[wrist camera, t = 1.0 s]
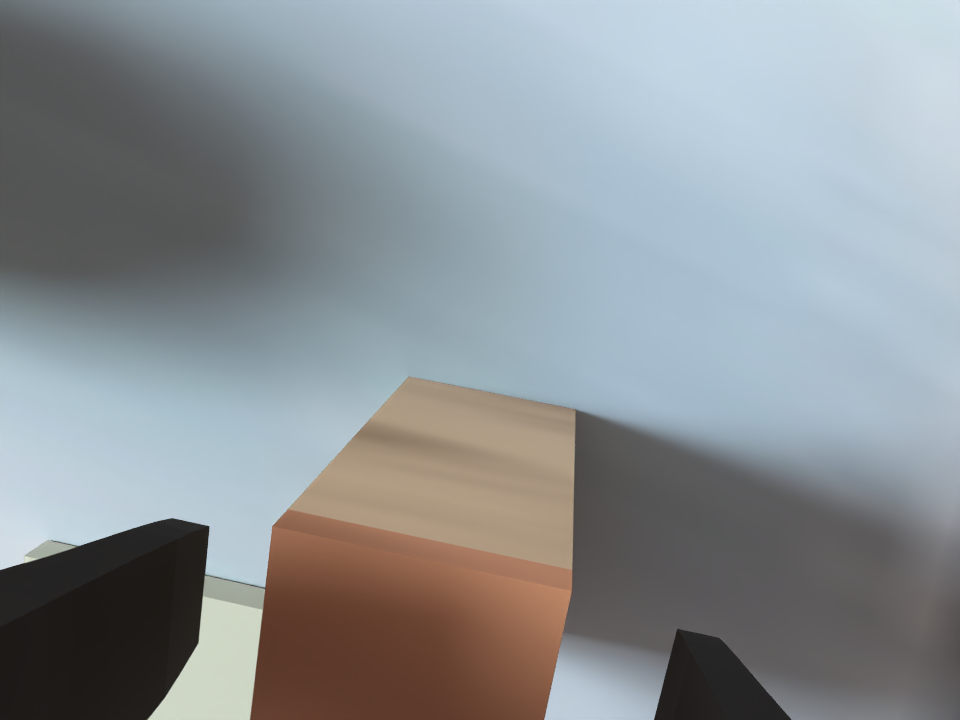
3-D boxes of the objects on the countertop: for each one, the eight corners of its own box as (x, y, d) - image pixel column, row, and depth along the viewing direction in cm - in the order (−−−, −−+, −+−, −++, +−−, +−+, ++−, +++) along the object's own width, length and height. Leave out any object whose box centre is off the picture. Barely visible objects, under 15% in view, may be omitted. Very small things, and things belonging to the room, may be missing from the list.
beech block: (530, 626, 17) (495, 943, 10) (375, 591, 18) (231, 877, 10) (575, 409, 16) (572, 590, 9) (409, 376, 16) (272, 526, 9)
